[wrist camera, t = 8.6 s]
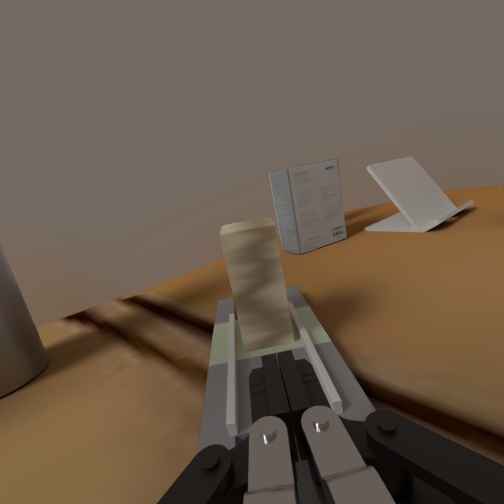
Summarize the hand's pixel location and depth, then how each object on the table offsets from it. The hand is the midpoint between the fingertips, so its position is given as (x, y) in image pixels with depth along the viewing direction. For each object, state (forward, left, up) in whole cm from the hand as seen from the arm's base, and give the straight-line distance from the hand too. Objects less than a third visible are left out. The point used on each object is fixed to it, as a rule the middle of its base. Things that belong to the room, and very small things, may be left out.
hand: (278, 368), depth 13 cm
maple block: (0, +16, -7) cm, 17 cm away
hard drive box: (+17, +55, -9) cm, 58 cm away
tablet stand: (+47, +59, -10) cm, 77 cm away
